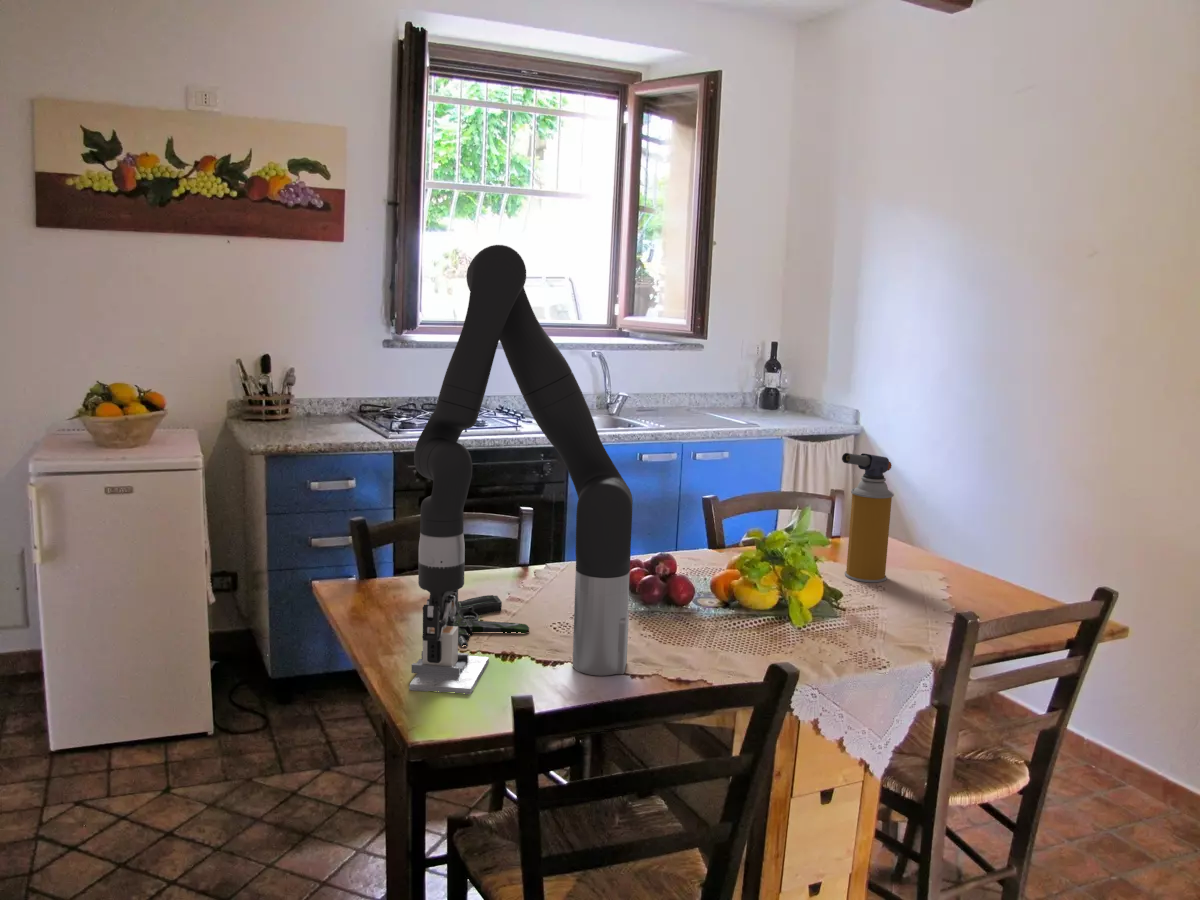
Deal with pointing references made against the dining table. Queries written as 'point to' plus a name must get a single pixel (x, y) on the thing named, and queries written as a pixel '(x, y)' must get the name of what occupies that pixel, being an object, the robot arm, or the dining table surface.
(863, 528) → the blowtorch
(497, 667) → the dining table surface
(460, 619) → the pistol
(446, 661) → the block
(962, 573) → the dining table surface
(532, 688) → the dining table surface
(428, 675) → the rail panel
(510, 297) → the robot arm
